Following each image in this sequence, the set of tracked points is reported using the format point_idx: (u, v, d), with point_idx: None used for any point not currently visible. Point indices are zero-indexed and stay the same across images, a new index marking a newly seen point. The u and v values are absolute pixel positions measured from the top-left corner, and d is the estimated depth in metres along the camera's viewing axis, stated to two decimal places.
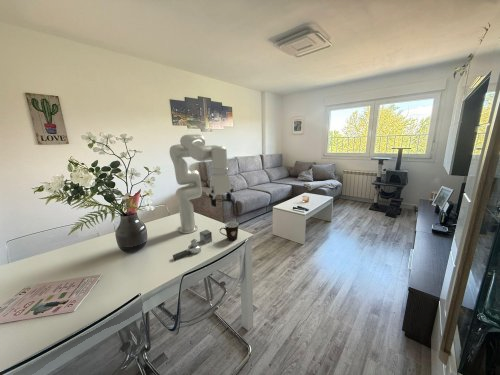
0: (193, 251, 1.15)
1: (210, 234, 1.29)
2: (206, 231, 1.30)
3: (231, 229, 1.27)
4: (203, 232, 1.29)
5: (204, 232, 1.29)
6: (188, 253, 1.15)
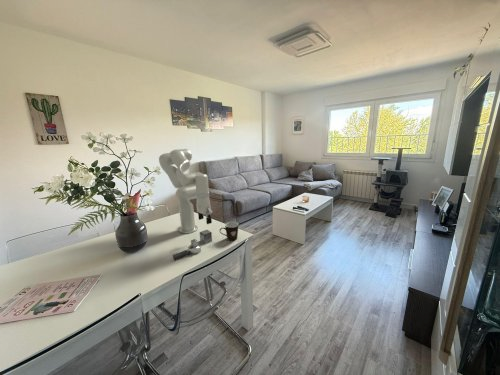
0: (193, 251, 1.15)
1: (210, 234, 1.29)
2: (206, 231, 1.30)
3: (231, 229, 1.27)
4: (203, 232, 1.29)
5: (204, 232, 1.29)
6: (188, 253, 1.15)
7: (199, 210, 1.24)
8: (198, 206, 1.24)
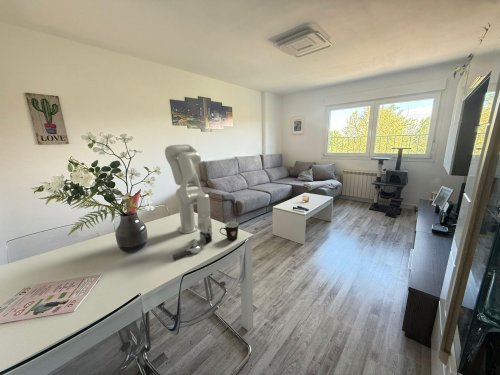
0: (193, 251, 1.15)
1: None
2: None
3: (231, 229, 1.27)
4: None
5: None
6: (188, 253, 1.15)
7: (200, 228, 1.27)
8: (199, 224, 1.27)
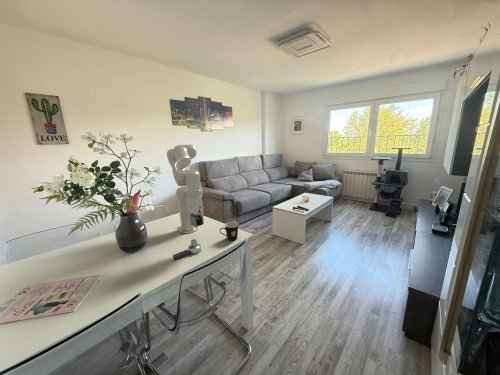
0: (193, 251, 1.15)
1: None
2: None
3: (231, 229, 1.27)
4: (194, 214, 1.17)
5: None
6: (188, 253, 1.15)
7: (190, 210, 1.15)
8: (189, 206, 1.15)
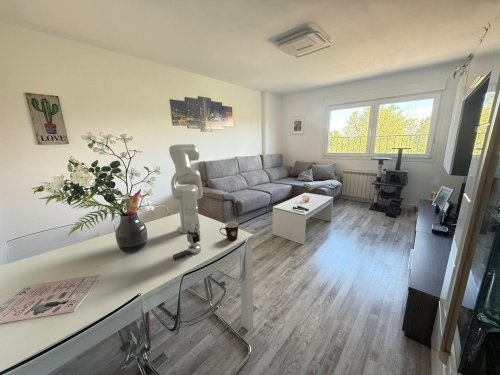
0: (193, 251, 1.15)
1: None
2: None
3: (231, 229, 1.27)
4: None
5: None
6: (188, 253, 1.15)
7: (187, 227, 1.14)
8: (186, 223, 1.14)
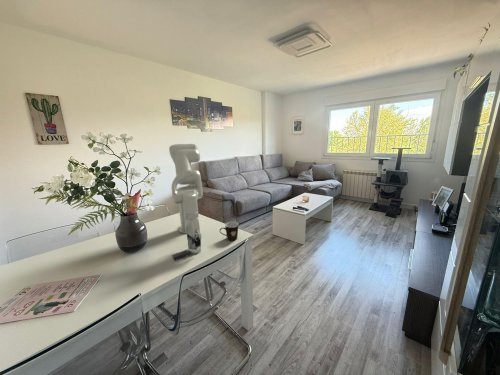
0: (193, 251, 1.15)
1: None
2: None
3: (231, 229, 1.27)
4: None
5: None
6: (188, 253, 1.15)
7: (187, 231, 1.15)
8: (186, 227, 1.15)
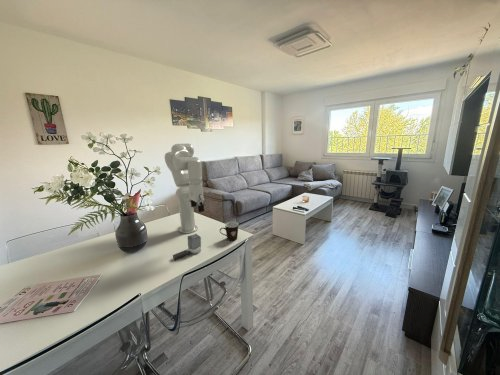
0: (193, 251, 1.15)
1: (199, 239, 1.17)
2: (195, 235, 1.18)
3: (231, 229, 1.27)
4: (191, 236, 1.17)
5: (193, 236, 1.17)
6: (188, 253, 1.15)
7: (191, 197, 1.18)
8: (190, 193, 1.17)
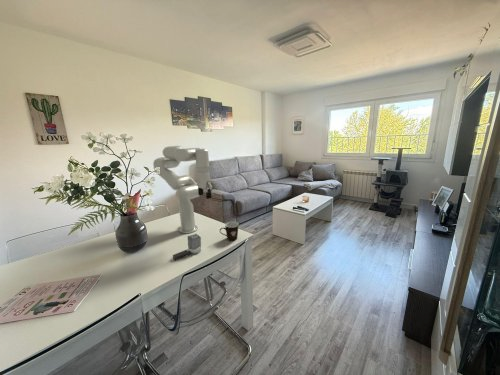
0: (193, 251, 1.15)
1: (199, 239, 1.17)
2: (195, 235, 1.18)
3: (231, 229, 1.27)
4: (191, 236, 1.17)
5: (193, 236, 1.17)
6: (188, 253, 1.15)
7: (199, 185, 1.24)
8: (198, 181, 1.25)
